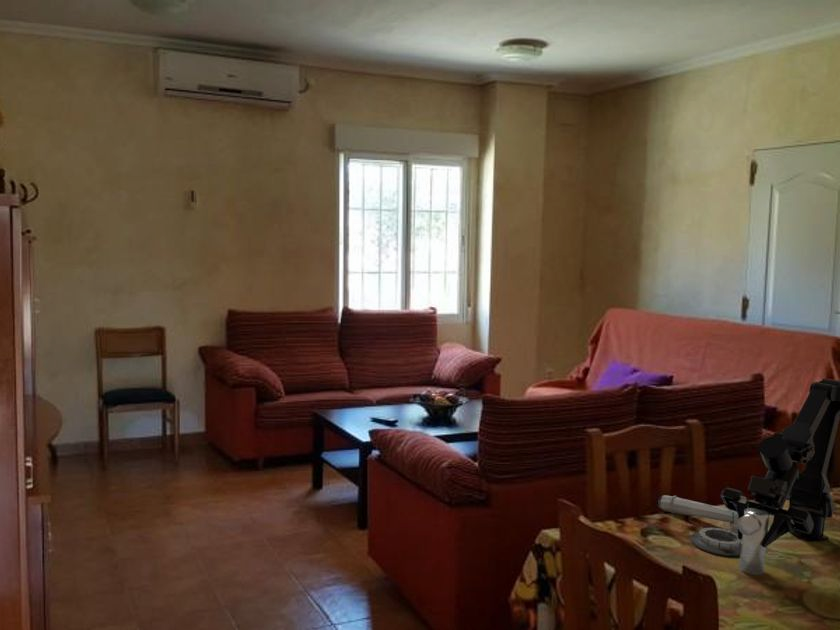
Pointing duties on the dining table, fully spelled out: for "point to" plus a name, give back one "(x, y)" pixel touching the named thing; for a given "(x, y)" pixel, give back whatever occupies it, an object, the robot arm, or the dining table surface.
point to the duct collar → (717, 541)
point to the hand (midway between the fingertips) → (751, 542)
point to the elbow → (753, 540)
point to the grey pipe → (698, 510)
